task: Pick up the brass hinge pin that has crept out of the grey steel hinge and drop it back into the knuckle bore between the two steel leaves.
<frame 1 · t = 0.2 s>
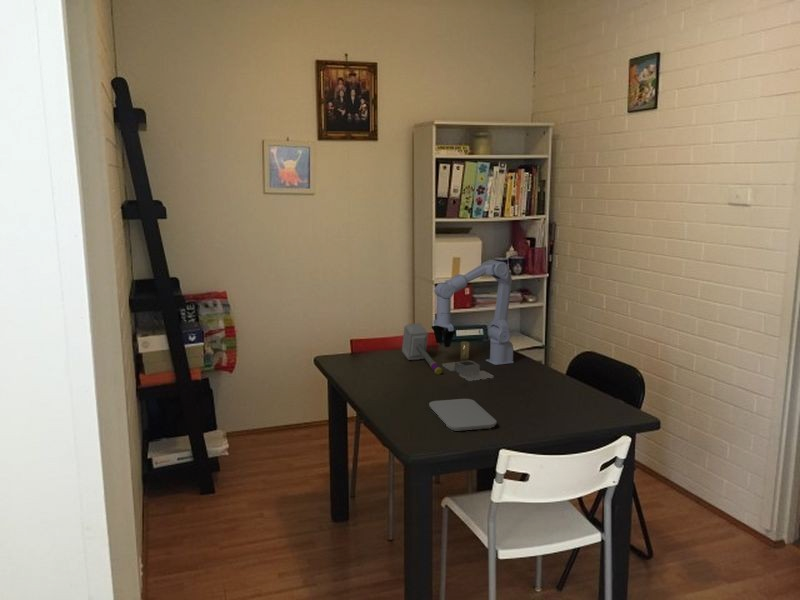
hand: (443, 344, 283), 10 cm above the table, tool pointing down, fingers open, 7 cm apart
hinge pin: (464, 360, 297), on the table
hinge base: (467, 371, 280), on the table
tablet: (461, 419, 226), on the table
hammer: (423, 366, 288), on the table
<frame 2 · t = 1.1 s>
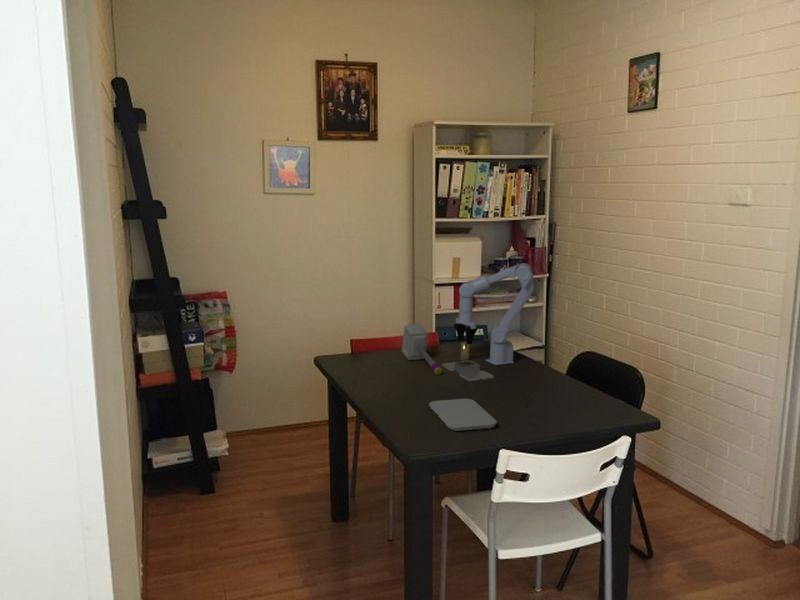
hand: (465, 341, 295), 8 cm above the table, tool pointing down, fingers open, 7 cm apart
nothing on the table moved.
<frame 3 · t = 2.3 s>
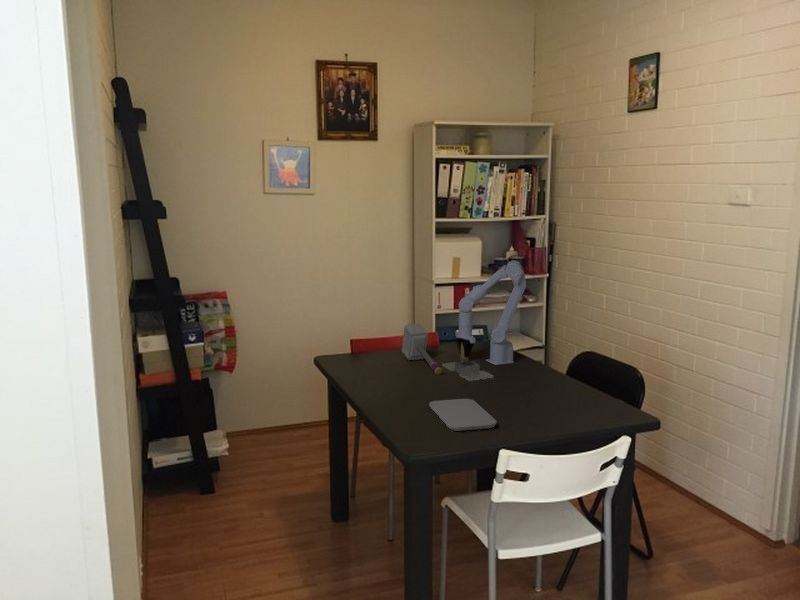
hand: (464, 355, 297), 2 cm above the table, tool pointing down, fingers closed on hinge pin, 4 cm apart
hinge pin: (464, 360, 297), on the table, touching gripper
everything else where it was.
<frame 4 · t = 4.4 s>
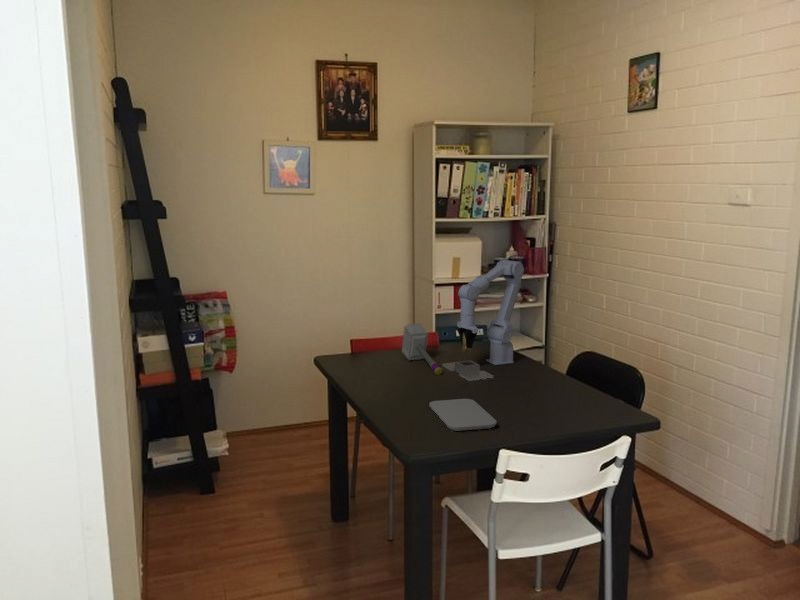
hand: (466, 346, 282), 9 cm above the table, tool pointing down, fingers closed on hinge pin, 4 cm apart
hinge pin: (466, 351, 282), point 7 cm above the table, touching gripper
everything else where it was.
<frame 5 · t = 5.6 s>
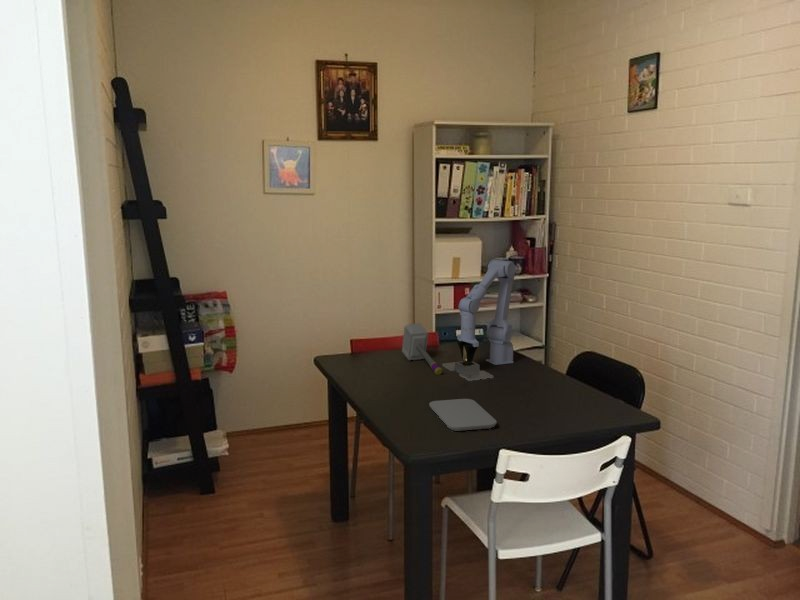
hand: (467, 360, 279), 5 cm above the table, tool pointing down, fingers closed on hinge pin, 4 cm apart
hinge pin: (467, 365, 279), point 3 cm above the table, touching gripper
everything else where it was.
when the fingers open (5 cm above the table, at t = 6.4 s): hinge pin drops 3 cm, resting in hinge base.
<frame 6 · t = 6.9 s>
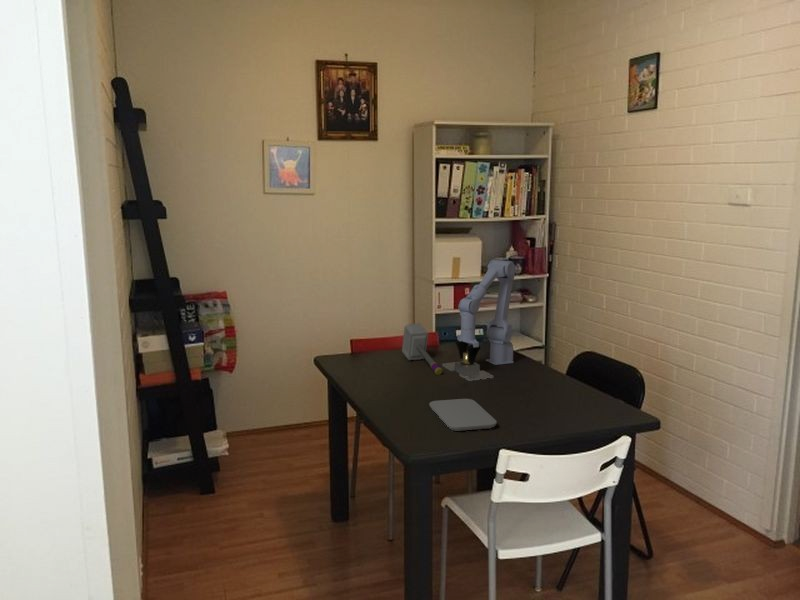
hand: (467, 360, 279), 5 cm above the table, tool pointing down, fingers open, 7 cm apart
hinge pin: (467, 371, 280), resting in hinge base
everything else where it was.
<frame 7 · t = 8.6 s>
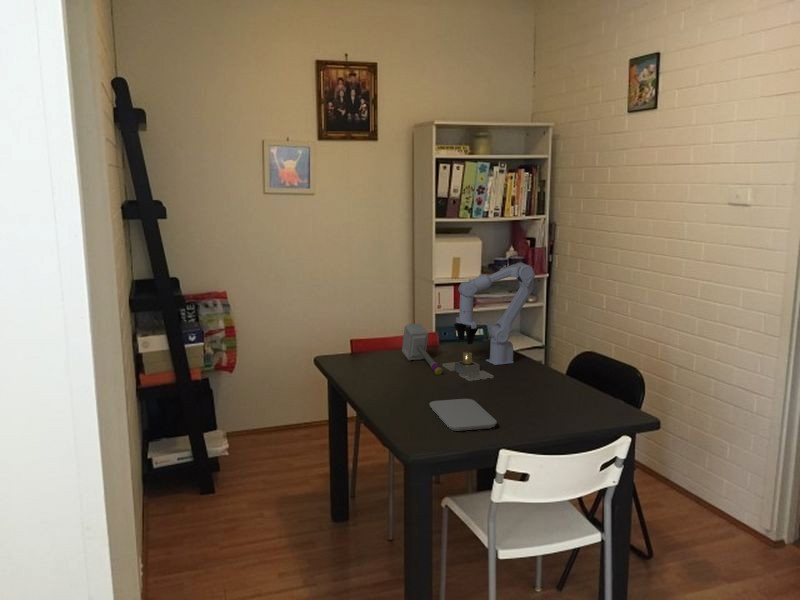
hand: (465, 341, 291), 9 cm above the table, tool pointing down, fingers open, 7 cm apart
nothing on the table moved.
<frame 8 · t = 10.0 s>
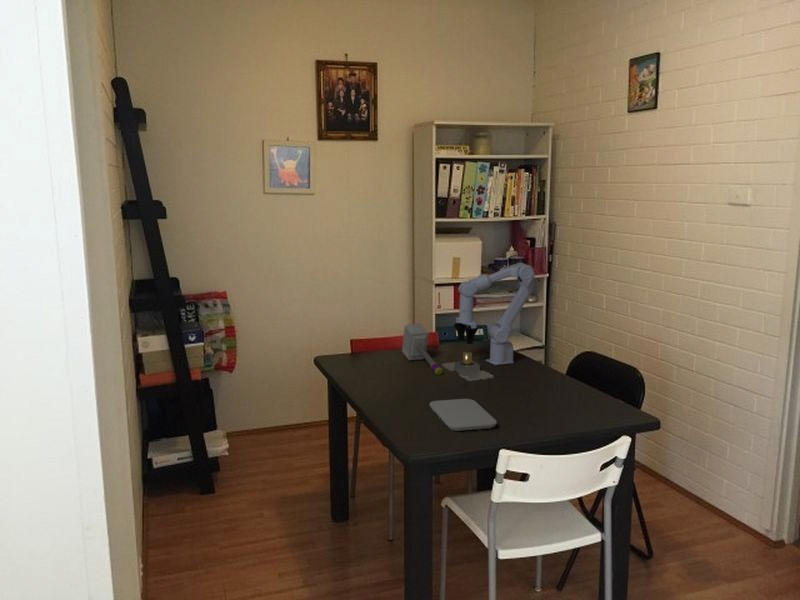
hand: (465, 341, 291), 9 cm above the table, tool pointing down, fingers open, 7 cm apart
nothing on the table moved.
at the end: hinge pin 0.0 cm off-centre on the hinge base, point 0.0 cm above the hinge base's base; hinge pin tilted 0°; the gripper is holding nothing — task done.
